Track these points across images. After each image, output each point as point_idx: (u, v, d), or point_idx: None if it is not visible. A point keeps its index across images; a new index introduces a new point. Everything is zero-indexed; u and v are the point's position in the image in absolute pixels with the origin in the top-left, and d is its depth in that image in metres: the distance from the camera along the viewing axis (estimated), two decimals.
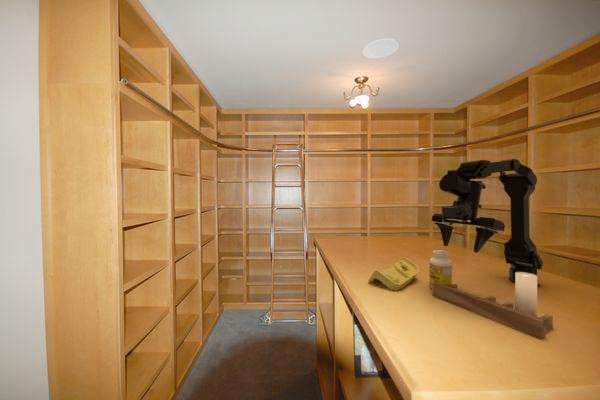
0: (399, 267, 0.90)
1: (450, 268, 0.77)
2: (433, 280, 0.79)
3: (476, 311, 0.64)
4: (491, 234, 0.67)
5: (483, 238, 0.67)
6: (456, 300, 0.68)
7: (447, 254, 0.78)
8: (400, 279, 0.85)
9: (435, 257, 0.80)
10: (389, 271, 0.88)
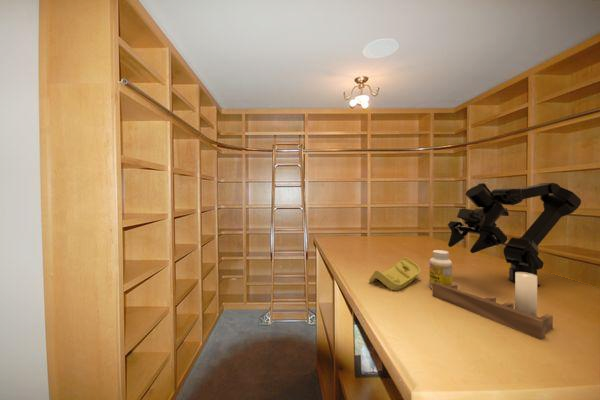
0: (400, 267, 0.89)
1: (450, 268, 0.77)
2: (433, 280, 0.79)
3: (476, 311, 0.64)
4: (492, 244, 0.76)
5: (483, 244, 0.76)
6: (456, 300, 0.68)
7: (447, 254, 0.78)
8: (401, 279, 0.85)
9: (435, 257, 0.80)
10: (390, 271, 0.88)
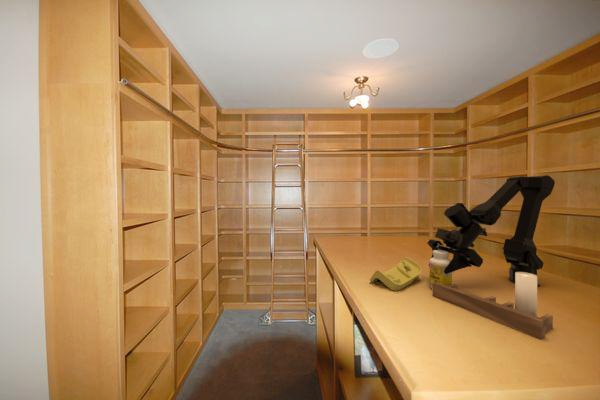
0: (401, 267, 0.89)
1: None
2: (433, 279, 0.79)
3: (476, 311, 0.64)
4: (465, 265, 0.76)
5: (456, 265, 0.76)
6: (456, 300, 0.68)
7: (447, 254, 0.78)
8: (402, 279, 0.85)
9: (435, 257, 0.80)
10: (391, 271, 0.88)
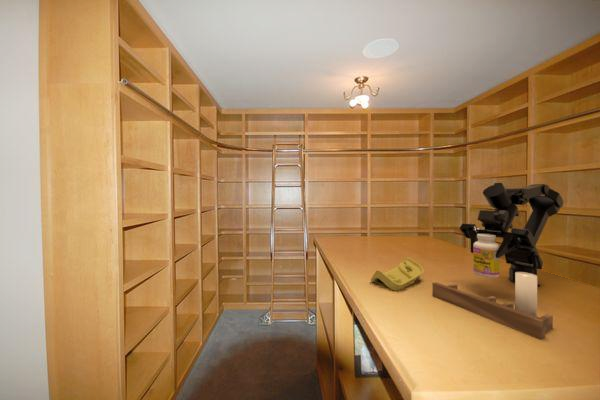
0: (403, 267, 0.89)
1: None
2: (482, 266, 0.73)
3: (476, 311, 0.64)
4: (514, 247, 0.72)
5: (507, 247, 0.71)
6: (456, 300, 0.68)
7: (495, 237, 0.73)
8: (403, 279, 0.85)
9: (483, 241, 0.74)
10: (392, 271, 0.88)
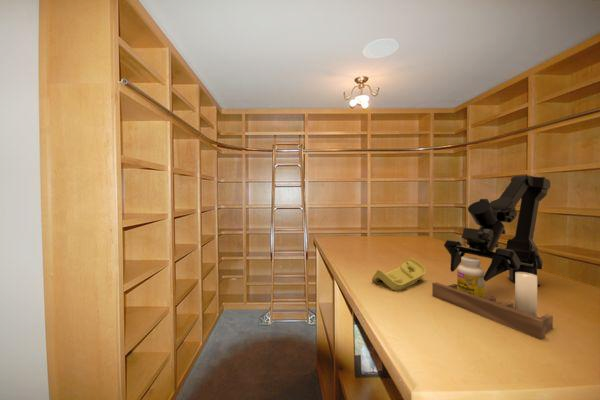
0: (405, 268, 0.89)
1: None
2: None
3: (476, 311, 0.64)
4: (504, 269, 0.67)
5: (496, 269, 0.67)
6: (456, 300, 0.68)
7: (479, 261, 0.69)
8: (404, 280, 0.84)
9: (466, 265, 0.70)
10: (394, 271, 0.88)
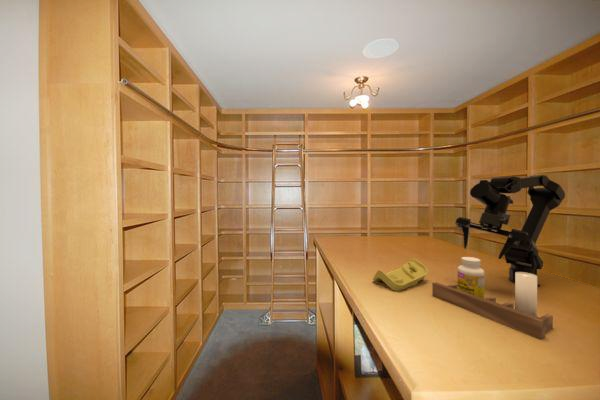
0: (406, 268, 0.88)
1: (484, 277, 0.69)
2: None
3: (476, 311, 0.64)
4: (512, 245, 0.76)
5: (507, 247, 0.75)
6: (456, 300, 0.68)
7: (480, 262, 0.69)
8: (405, 280, 0.84)
9: (467, 266, 0.70)
10: (395, 272, 0.88)
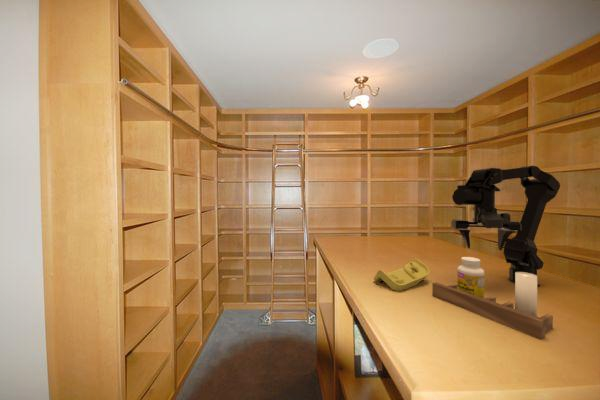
0: (408, 268, 0.88)
1: (483, 277, 0.69)
2: None
3: (476, 311, 0.64)
4: None
5: None
6: (456, 300, 0.68)
7: (479, 261, 0.69)
8: (406, 280, 0.84)
9: (466, 266, 0.70)
10: (396, 272, 0.87)
